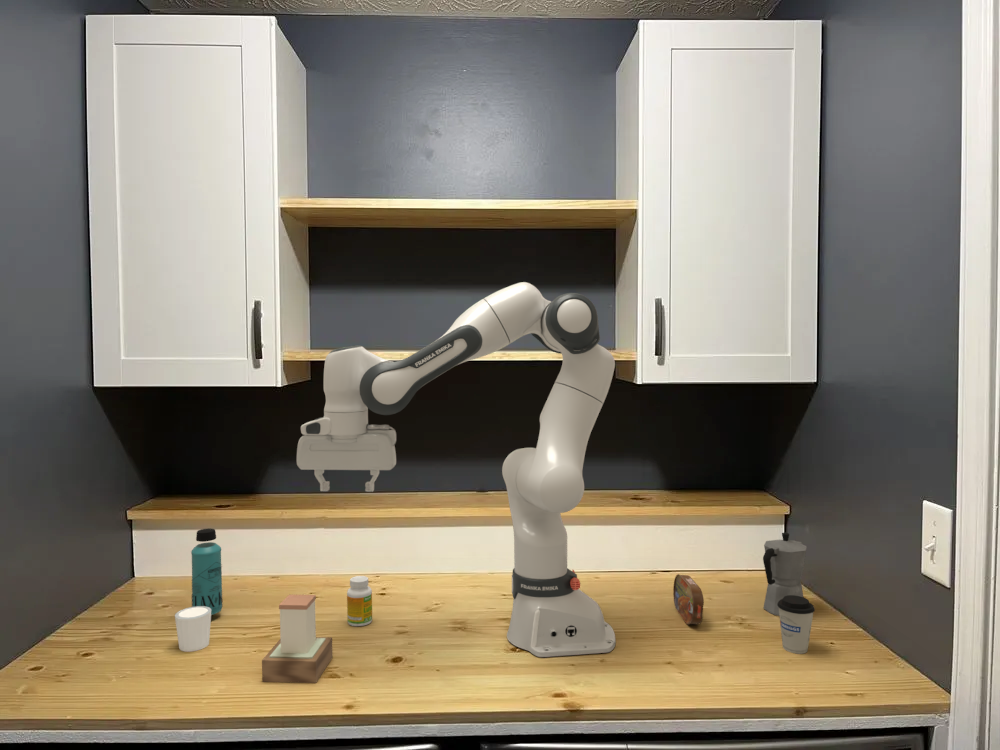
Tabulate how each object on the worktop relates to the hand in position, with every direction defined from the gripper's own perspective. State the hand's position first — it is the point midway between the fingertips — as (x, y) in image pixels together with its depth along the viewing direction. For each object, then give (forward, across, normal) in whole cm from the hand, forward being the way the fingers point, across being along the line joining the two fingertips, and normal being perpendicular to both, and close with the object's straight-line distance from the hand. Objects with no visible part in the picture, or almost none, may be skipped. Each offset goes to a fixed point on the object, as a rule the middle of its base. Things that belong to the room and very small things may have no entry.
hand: (347, 490), depth 142 cm
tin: (+31, -73, -14) cm, 81 cm away
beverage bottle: (+31, +35, -9) cm, 48 cm away
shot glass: (+31, +31, +5) cm, 44 cm away
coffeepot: (+31, -95, -18) cm, 102 cm away
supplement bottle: (+31, 0, -8) cm, 32 cm away
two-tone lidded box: (+27, +6, +14) cm, 31 cm away
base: (+31, +6, +14) cm, 35 cm away
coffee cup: (+31, -91, +1) cm, 96 cm away
